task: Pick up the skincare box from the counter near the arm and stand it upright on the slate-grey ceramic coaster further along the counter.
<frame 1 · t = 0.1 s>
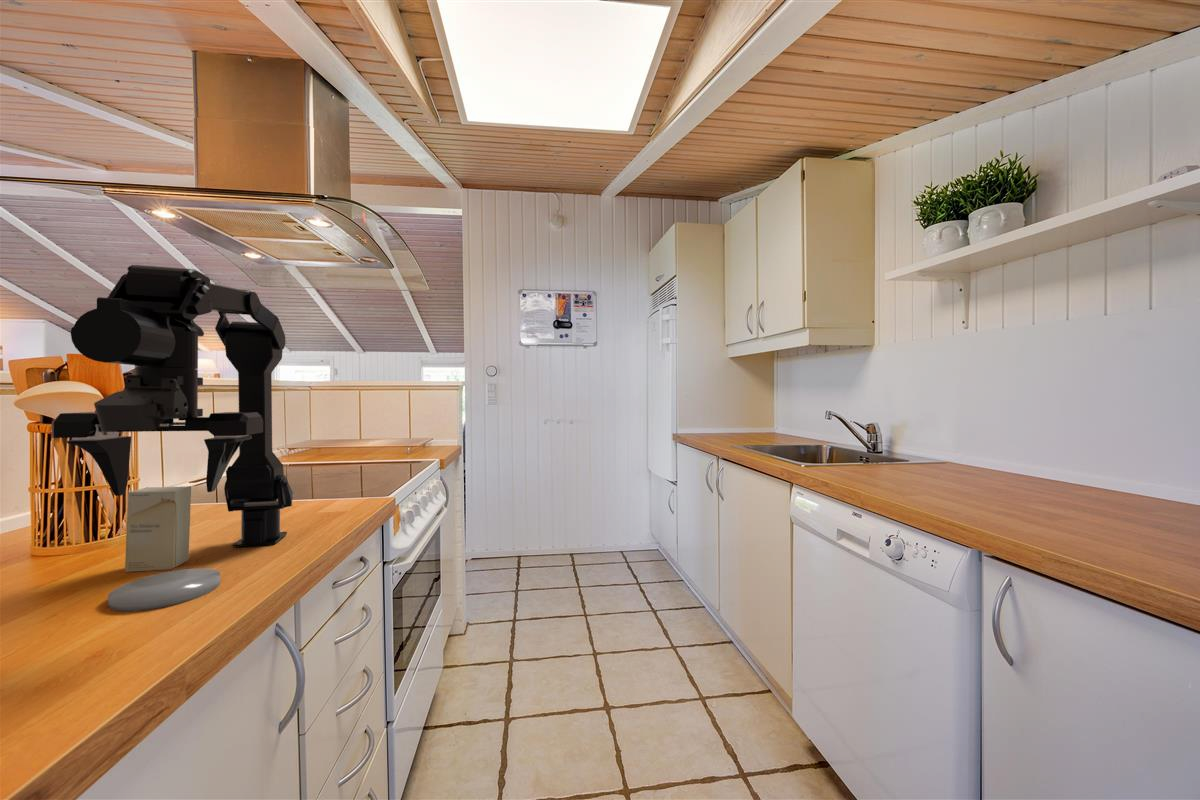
hand: (166, 493, 57), 15 cm above the counter, tool pointing down, fingers open, 9 cm apart
skincare box: (159, 567, 71), on the counter
coaster: (167, 592, 62), on the counter
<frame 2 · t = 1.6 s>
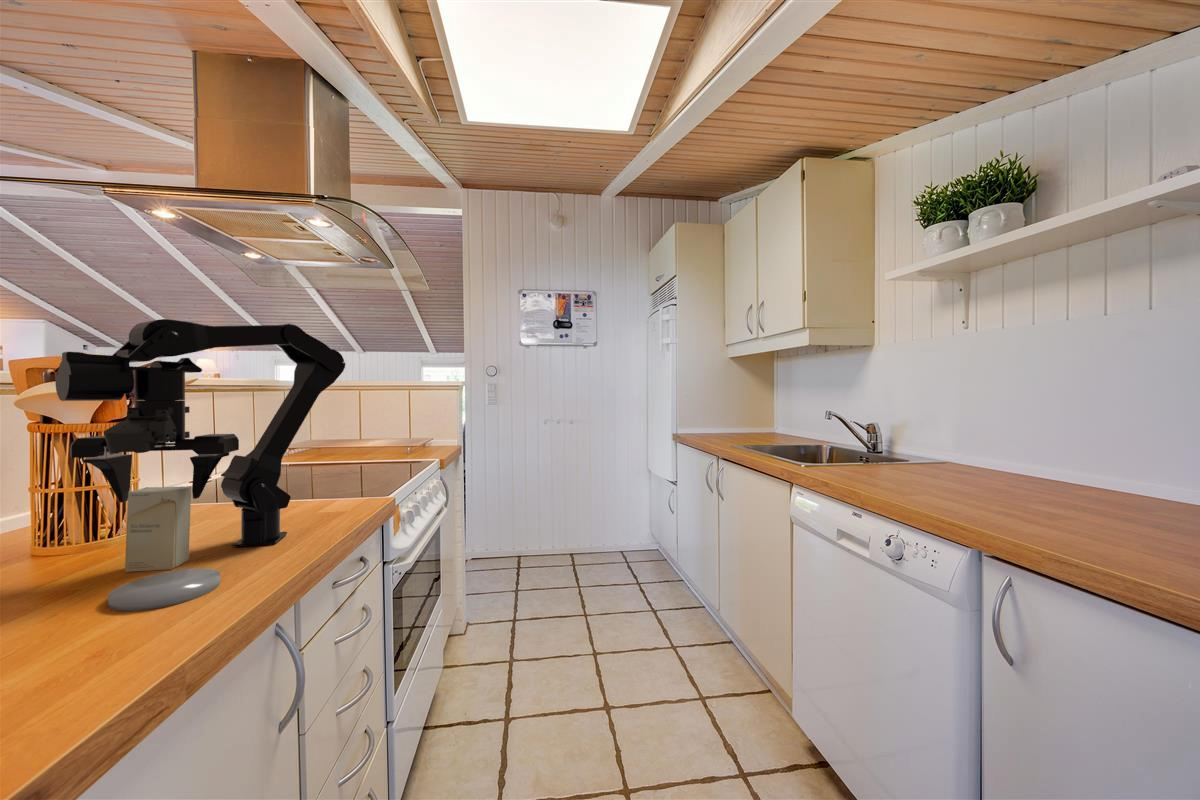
hand: (160, 500, 71), 10 cm above the counter, tool pointing down, fingers open, 9 cm apart
nothing on the counter moved.
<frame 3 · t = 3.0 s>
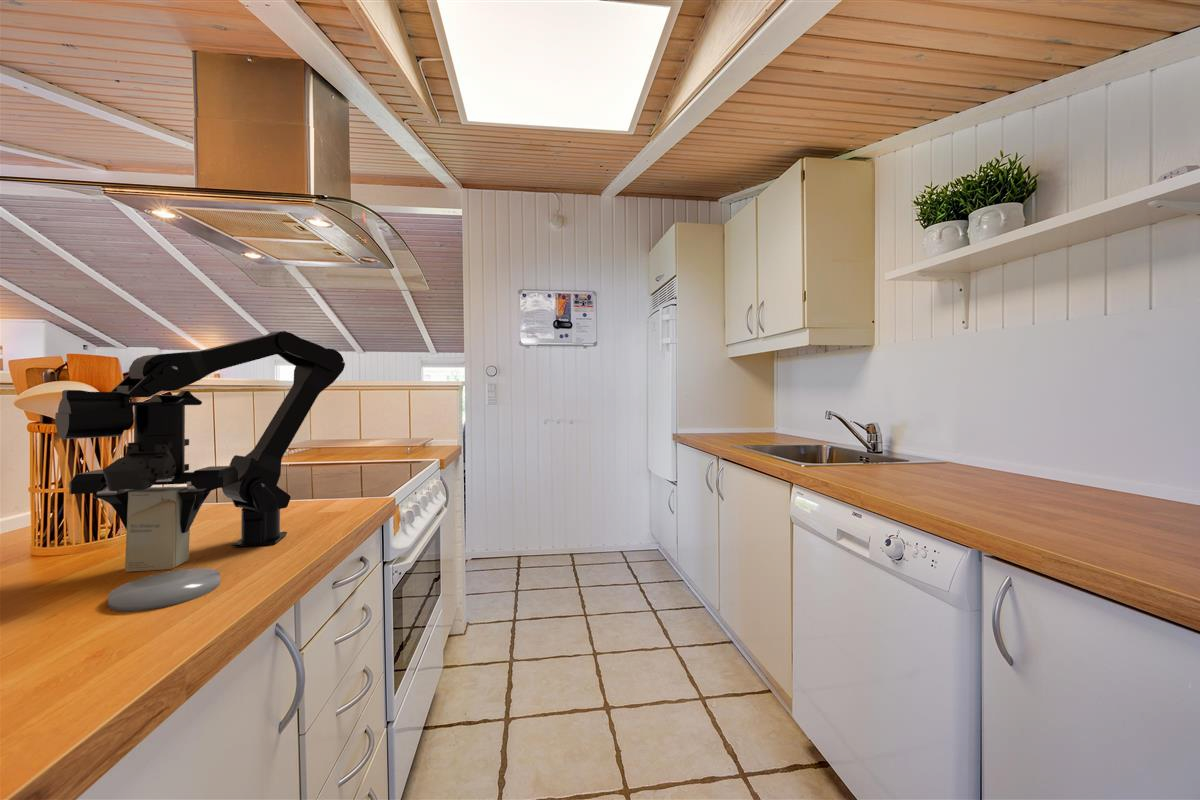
hand: (159, 533, 71), 5 cm above the counter, tool pointing down, fingers closed on skincare box, 6 cm apart
skincare box: (159, 567, 71), on the counter, touching gripper
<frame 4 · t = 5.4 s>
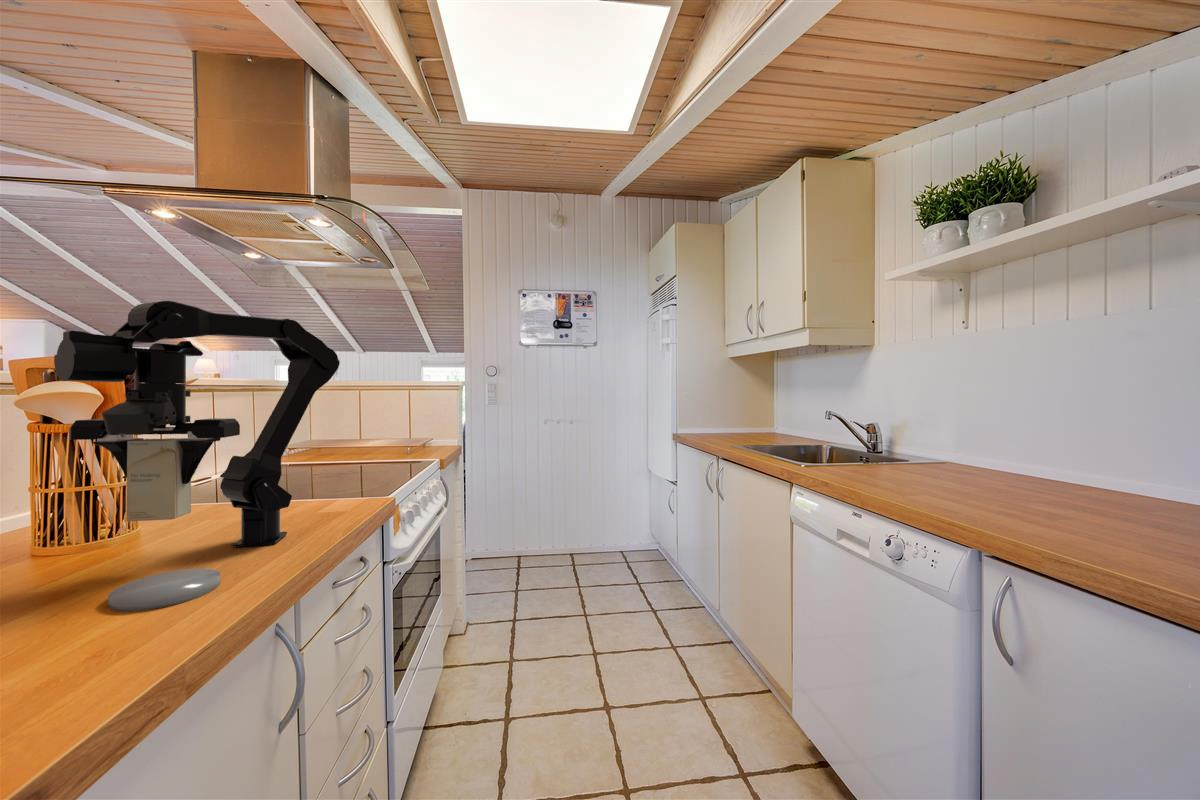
hand: (160, 484, 70), 13 cm above the counter, tool pointing down, fingers closed on skincare box, 6 cm apart
skincare box: (161, 518, 70), point 8 cm above the counter, touching gripper
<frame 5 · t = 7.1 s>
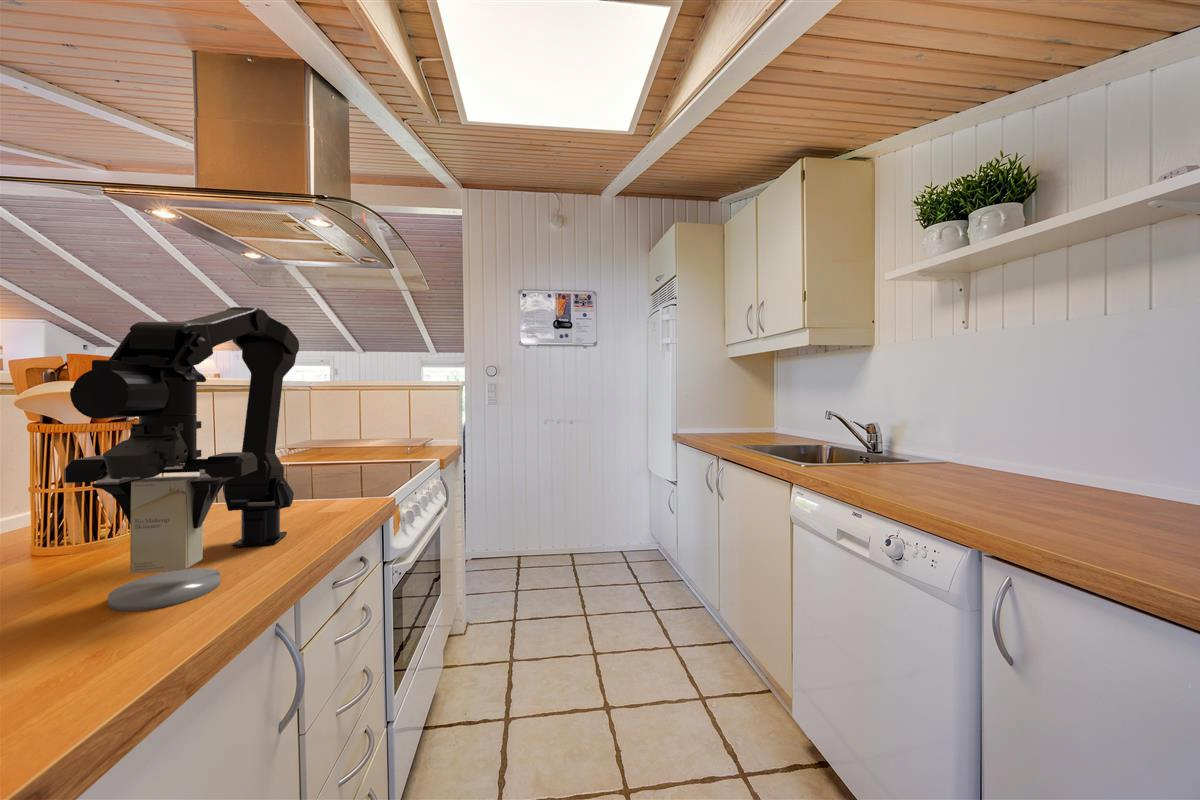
hand: (168, 529, 62), 9 cm above the counter, tool pointing down, fingers closed on skincare box, 6 cm apart
skincare box: (169, 568, 62), point 3 cm above the counter, touching gripper
when the fingers open (8 cm above the counter, at t = 8.1 s): skincare box drops 1 cm, resting on coaster.
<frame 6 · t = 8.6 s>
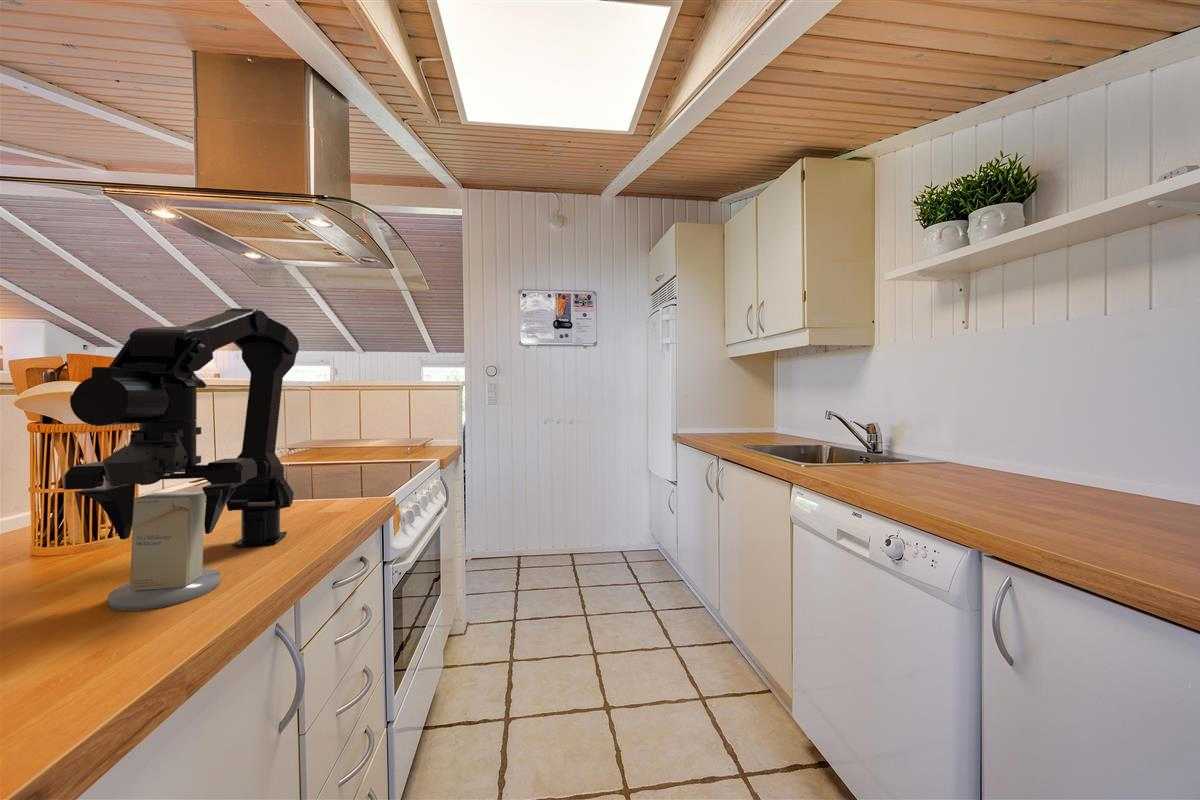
hand: (167, 535, 62), 8 cm above the counter, tool pointing down, fingers open, 9 cm apart
skincare box: (169, 584, 62), point 1 cm above the counter, touching coaster
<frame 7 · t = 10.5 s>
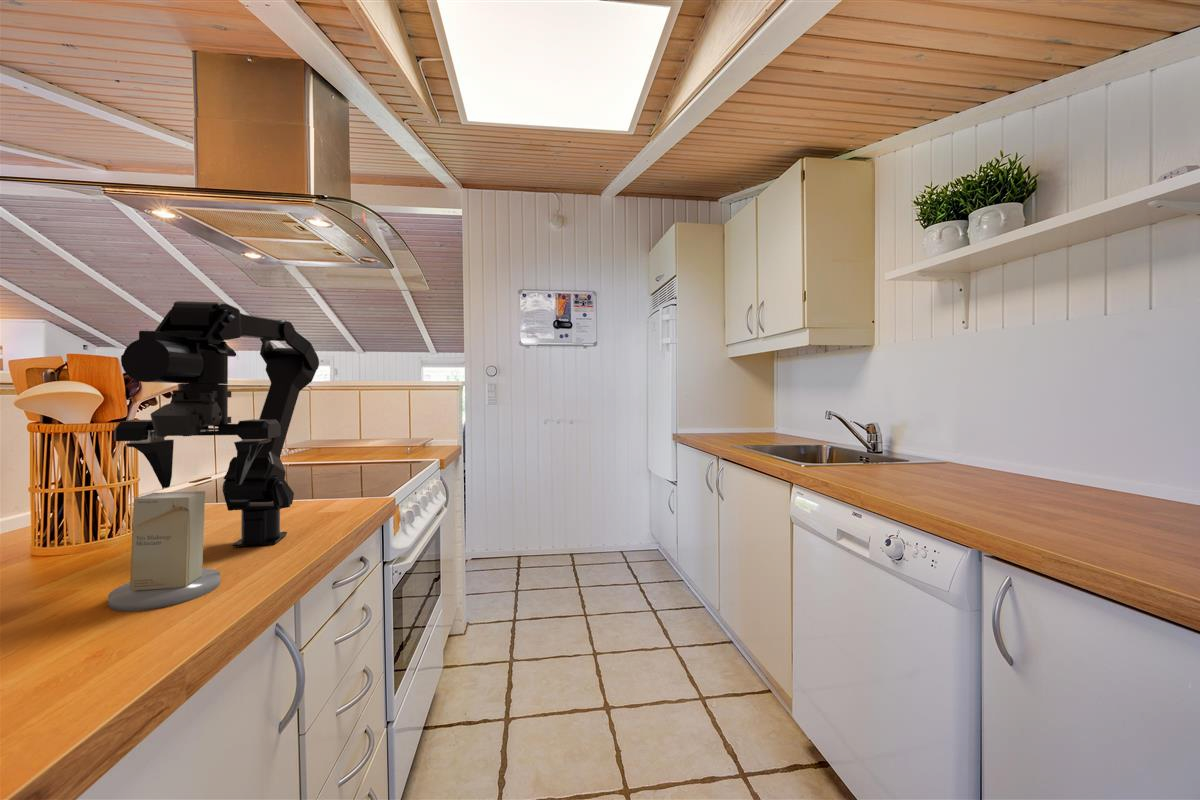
hand: (203, 486, 70), 13 cm above the counter, tool pointing down, fingers open, 9 cm apart
nothing on the counter moved.
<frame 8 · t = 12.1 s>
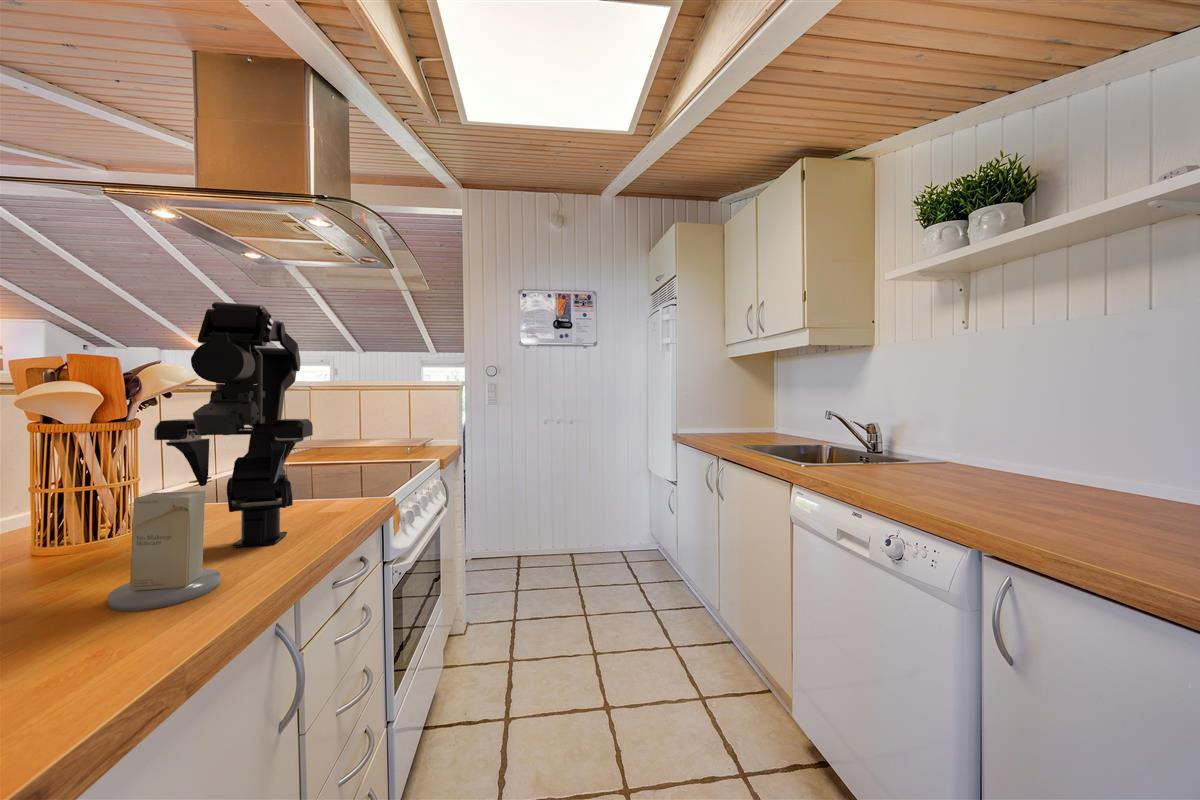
hand: (238, 484, 71), 13 cm above the counter, tool pointing down, fingers open, 9 cm apart
nothing on the counter moved.
at the end: skincare box 0.1 cm off-centre on the coaster, point 1.0 cm above the coaster's base; skincare box tilted 0°; the gripper is holding nothing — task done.
